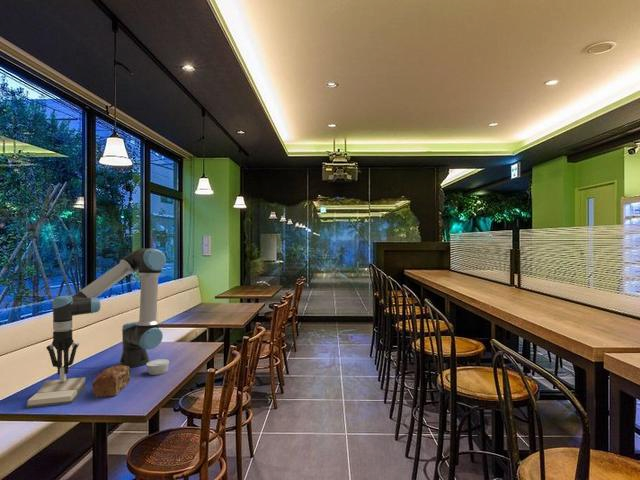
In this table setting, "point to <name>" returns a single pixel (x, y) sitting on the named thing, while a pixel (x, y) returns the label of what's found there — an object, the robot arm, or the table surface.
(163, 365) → the ramekin
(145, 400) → the table surface
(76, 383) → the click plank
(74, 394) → the floor base
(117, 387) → the bread
